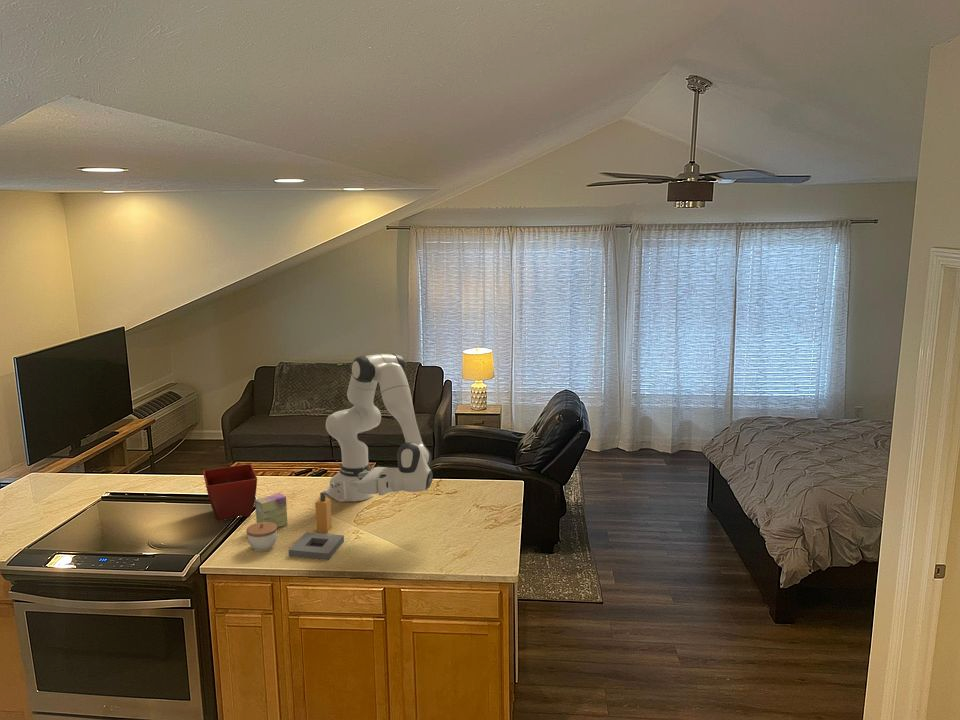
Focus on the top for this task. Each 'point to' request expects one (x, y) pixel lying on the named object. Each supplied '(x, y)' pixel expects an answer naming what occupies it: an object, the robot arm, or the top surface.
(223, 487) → the plant pot
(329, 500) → the plug
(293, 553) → the socket
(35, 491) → the top surface
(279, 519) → the box
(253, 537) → the lidded jar
